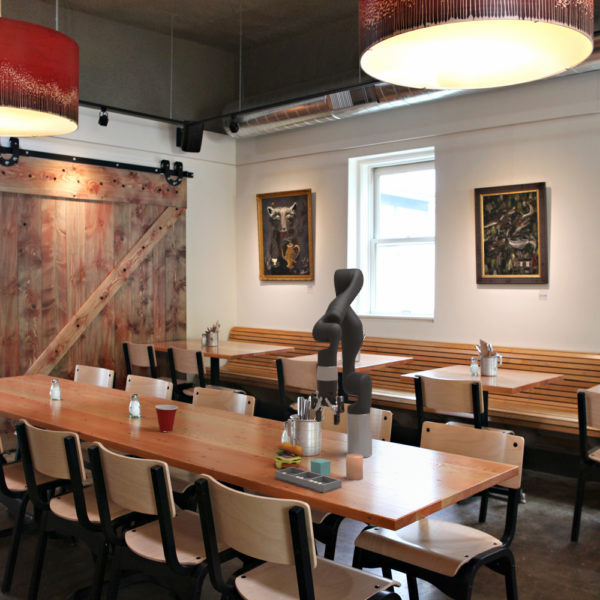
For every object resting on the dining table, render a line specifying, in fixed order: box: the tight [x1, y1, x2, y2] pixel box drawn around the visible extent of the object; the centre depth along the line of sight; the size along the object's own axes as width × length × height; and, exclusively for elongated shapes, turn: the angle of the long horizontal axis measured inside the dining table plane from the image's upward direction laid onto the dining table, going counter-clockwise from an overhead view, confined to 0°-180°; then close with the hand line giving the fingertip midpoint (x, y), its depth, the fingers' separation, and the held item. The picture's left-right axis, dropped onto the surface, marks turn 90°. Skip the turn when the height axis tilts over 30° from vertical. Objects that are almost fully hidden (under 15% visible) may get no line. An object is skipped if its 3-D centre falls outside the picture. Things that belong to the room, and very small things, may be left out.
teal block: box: [310, 458, 331, 476], centre depth 250 cm, size 5×5×5 cm
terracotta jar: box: [345, 454, 364, 481], centre depth 245 cm, size 6×6×8 cm
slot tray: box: [274, 467, 343, 494], centre depth 239 cm, size 9×24×3 cm, turn 44°
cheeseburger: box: [274, 441, 304, 470], centre depth 263 cm, size 10×11×10 cm
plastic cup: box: [154, 404, 179, 432], centre depth 325 cm, size 11×11×12 cm
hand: (327, 423), depth 249 cm, fingers open, 8 cm apart
